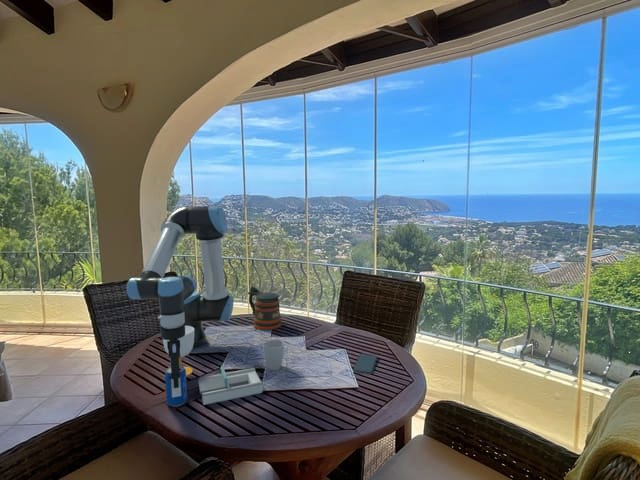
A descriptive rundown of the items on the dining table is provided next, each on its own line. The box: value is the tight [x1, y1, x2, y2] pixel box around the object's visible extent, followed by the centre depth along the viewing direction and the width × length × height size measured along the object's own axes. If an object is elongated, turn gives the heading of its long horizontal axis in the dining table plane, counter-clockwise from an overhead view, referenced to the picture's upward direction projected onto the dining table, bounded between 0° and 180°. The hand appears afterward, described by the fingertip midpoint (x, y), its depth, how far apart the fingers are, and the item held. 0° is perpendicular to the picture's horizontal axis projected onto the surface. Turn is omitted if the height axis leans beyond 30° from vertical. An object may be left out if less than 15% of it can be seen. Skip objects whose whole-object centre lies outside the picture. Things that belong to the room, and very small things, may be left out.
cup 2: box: [263, 339, 285, 371], centre depth 152 cm, size 8×8×10 cm
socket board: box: [199, 367, 263, 406], centre depth 135 cm, size 12×20×4 cm, turn 112°
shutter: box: [197, 366, 228, 395], centre depth 132 cm, size 9×9×4 cm
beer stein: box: [247, 285, 282, 331], centre depth 199 cm, size 19×15×20 cm
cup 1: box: [162, 326, 194, 377], centre depth 147 cm, size 12×12×17 cm
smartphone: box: [353, 353, 378, 375], centre depth 154 cm, size 8×2×15 cm
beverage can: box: [164, 364, 188, 408], centre depth 127 cm, size 6×6×12 cm
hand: (176, 386), depth 126 cm, fingers open, 13 cm apart
